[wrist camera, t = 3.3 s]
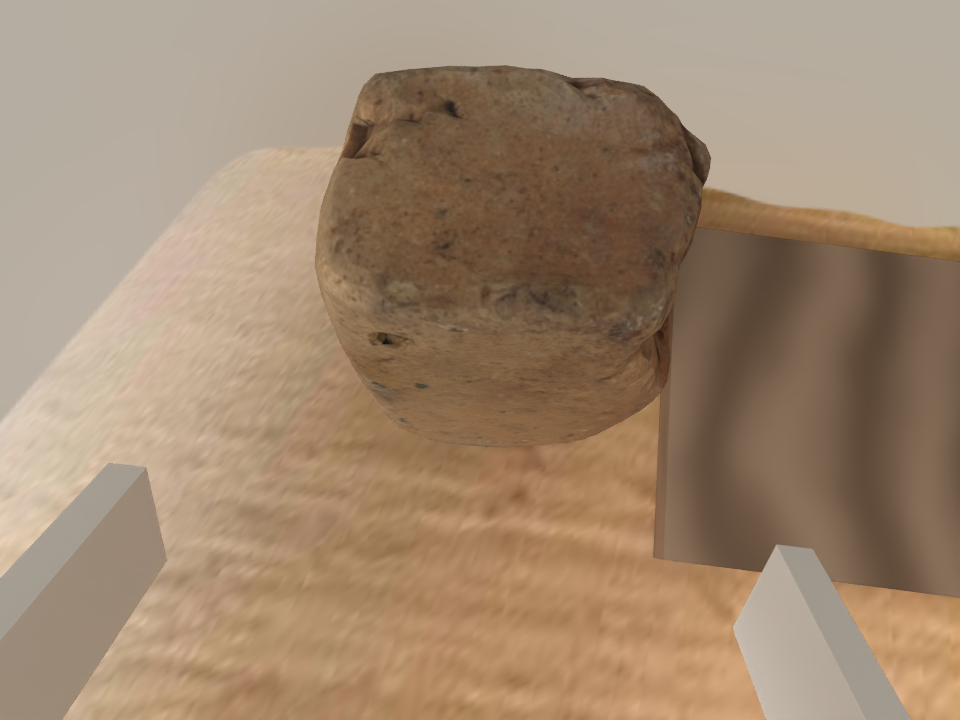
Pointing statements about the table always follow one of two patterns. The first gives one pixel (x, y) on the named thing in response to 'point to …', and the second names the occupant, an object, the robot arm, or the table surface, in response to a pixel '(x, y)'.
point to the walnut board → (813, 411)
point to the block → (508, 250)
